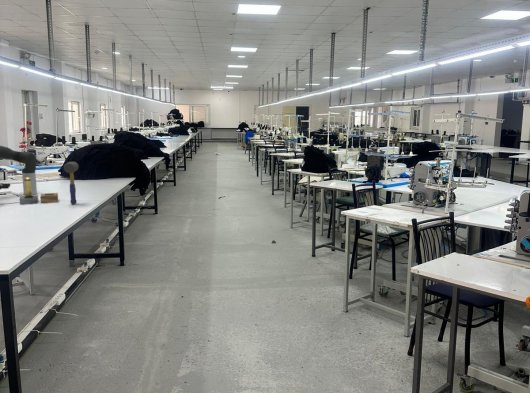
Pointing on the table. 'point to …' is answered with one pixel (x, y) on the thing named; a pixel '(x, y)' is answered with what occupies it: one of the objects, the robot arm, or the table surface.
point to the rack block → (49, 198)
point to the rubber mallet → (71, 179)
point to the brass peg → (28, 187)
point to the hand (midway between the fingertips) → (9, 185)
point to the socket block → (29, 200)
